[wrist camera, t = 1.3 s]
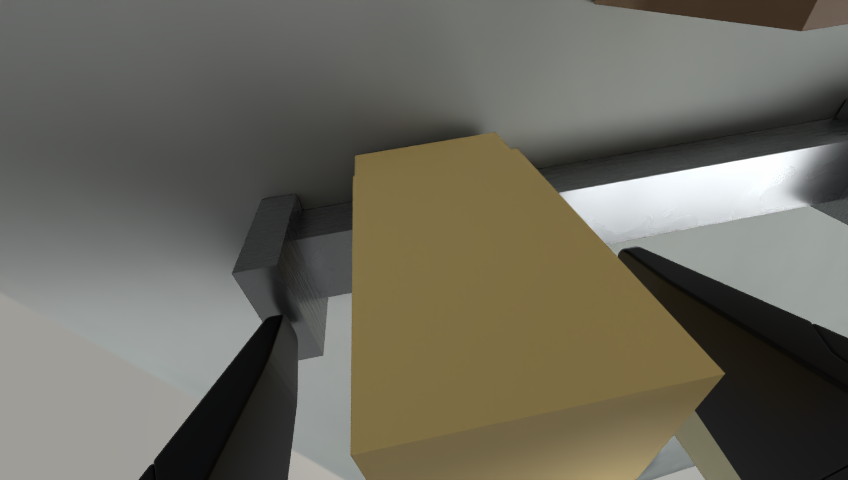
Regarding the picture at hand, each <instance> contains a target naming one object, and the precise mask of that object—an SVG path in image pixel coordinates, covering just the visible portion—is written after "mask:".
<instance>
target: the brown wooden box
mask: <svg viewBox="0 0 848 480" xmlns="http://www.w3.org/2000/svg"><path fill="white" fill-rule="evenodd" d="M594 4H599V5H607V6H614V7H622V8H629V9H637V10H645V11H652V12H660V13H667V14H675V15H683V16H690V17H698V18H705V19H713V20H721V21H728V22H736V23H743V24H751V25H759V26H766V27H774V28H781V29H789V30H797V31H806V30H812V29H819V28H825V27H831V26H838V25H844V24H848V0H594Z"/></svg>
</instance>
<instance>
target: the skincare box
mask: <svg viewBox="0 0 848 480" xmlns="http://www.w3.org/2000/svg"><path fill="white" fill-rule="evenodd" d="M674 435H675V436H676V438H677V439H678V441H679V442H680V444H681V445H682V447H683V448H684V449H685V451H686V452H687V454H688V455H689V457H690V458H691V460H692V461H693V463H694V464H695V465H696V467H697V468H698V470H699V471H700V473H701V474H702V476H703V477H704V478H705V480H741V479H740V478H739V476H738V475H737V473H736V472H735V470H734V469H733V467H732V466H731V464H730V463H729V461H728V460H727V458H726V457H725V455H724V454H723V452H722V451H721V449H720V448H719V446H718V445H717V443H716V442H715V440H714V439H713V437H712V436H711V434H710V433H709V431H708V430H707V428H706V427H705V425H704V424H703V422H702V421H701V419H700V418H699V416H698V415H697V413H696V412H695V410H694V411H693V413H692V414H691V415H690V416H689V417H688V419H687V420H686V421H685V422H684V423H683V424H682V426H681V427H680V428H679V429H678V430H677V432H676V433H675V434H674Z"/></svg>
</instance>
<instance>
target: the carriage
mask: <svg viewBox="0 0 848 480" xmlns="http://www.w3.org/2000/svg"><path fill="white" fill-rule="evenodd" d="M724 374H725V373H724V372H723V371H722V370H721V369H720V367H719V366H718V365H717V364H716V363H715V362H714V361H713V360H712V359H711V358H710V357H709V356H708V354H707V353H706V352H705V351H704V350H703V349H702V348H701V347H700V346H699V345H698V344H697V343H696V341H695V340H694V339H693V338H692V337H691V336H690V335H689V334H688V333H687V332H686V331H685V330H684V328H683V327H682V326H681V325H680V324H679V323H678V322H677V321H676V320H675V319H674V318H673V317H672V315H671V314H670V313H669V312H668V311H667V310H666V309H665V308H664V307H663V306H662V305H661V304H660V302H659V301H658V300H657V299H656V298H655V297H654V296H653V295H652V294H651V293H650V292H649V291H648V289H647V288H646V287H645V286H644V285H643V284H642V283H641V282H640V281H639V280H638V279H637V278H636V276H635V275H634V274H633V273H632V272H631V271H630V270H629V269H628V268H627V267H626V266H625V265H624V263H623V262H622V261H621V260H620V259H619V258H618V257H617V256H616V255H615V254H614V253H613V252H612V250H611V249H610V248H609V247H608V246H607V245H606V244H605V243H604V242H603V241H602V240H601V239H600V237H599V236H598V235H597V234H596V233H595V232H594V231H593V230H592V229H591V228H590V227H589V226H588V224H587V223H586V222H585V221H584V220H583V219H582V218H581V217H580V216H579V215H578V214H577V213H576V211H575V210H574V209H573V208H572V207H571V206H570V205H569V204H568V203H567V202H566V201H565V200H564V198H563V197H562V196H561V195H560V194H559V193H558V192H557V191H556V190H555V189H554V188H553V187H552V185H551V184H550V183H549V182H548V181H547V180H546V179H545V178H544V177H543V176H542V175H541V174H540V172H539V171H538V170H537V169H536V168H535V167H534V166H533V165H532V164H531V163H530V162H529V161H528V159H527V158H526V157H525V156H524V155H523V154H522V153H521V152H520V151H519V150H518V149H517V148H514V149H510V148H509V147H508V146H507V144H506V143H505V142H504V141H503V140H502V139H501V138H500V136H499V135H498V134H497V133H496V132H493V133H487V134H481V135H475V136H469V137H463V138H457V139H451V140H446V141H440V142H434V143H428V144H422V145H416V146H410V147H404V148H398V149H392V150H386V151H380V152H374V153H368V154H362V155H356V156H355V176H353V238H352V353H351V457H352V458H353V460H354V461H355V463H356V465H357V466H358V468H359V469H360V471H361V472H362V474H363V476H364V477H365V479H366V480H636V479H637V478H638V477H639V476H640V474H641V473H642V472H643V471H644V470H645V469H646V467H647V466H648V465H649V464H650V463H651V461H652V460H653V459H654V458H655V457H656V455H657V454H658V453H659V452H660V451H661V449H662V448H663V447H664V446H665V445H666V444H667V442H668V441H669V440H670V439H671V438H672V436H673V435H674V434H675V433H676V432H677V430H678V429H679V428H680V427H681V426H682V424H683V423H684V422H685V421H686V420H687V419H688V417H689V416H690V415H691V414H692V413H693V411H694V410H695V409H696V408H697V407H698V405H699V404H700V403H701V402H702V401H703V399H704V398H705V397H706V396H707V395H708V394H709V392H710V391H711V390H712V389H713V388H714V386H715V385H716V384H717V383H718V382H719V380H720V379H721V378H722V377H723V376H724Z"/></svg>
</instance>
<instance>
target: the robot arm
mask: <svg viewBox="0 0 848 480" xmlns="http://www.w3.org/2000/svg"><path fill="white" fill-rule="evenodd" d="M618 258H619V259H620V260H621V261H622V262H623V263H624V265H625V266H626V267H627V268H628V269H629V270H630V271H631V272H632V273H633V274H634V275H635V276H636V278H637V279H638V280H639V281H640V282H641V283H642V284H643V285H644V286H645V287H646V288H647V289H648V291H649V292H650V293H651V294H652V295H653V296H654V297H655V298H656V299H657V300H658V301H659V302H660V304H661V305H662V306H663V307H664V308H665V309H666V310H667V311H668V312H669V313H670V314H671V315H672V317H673V318H674V319H675V320H676V321H677V322H678V323H679V324H680V325H681V326H682V327H683V328H684V330H685V331H686V332H687V333H688V334H689V335H690V336H691V337H692V338H693V339H694V340H695V341H696V343H697V344H698V345H699V346H700V347H701V348H702V349H703V350H704V351H705V352H706V353H707V354H708V356H709V357H710V358H711V359H712V360H713V361H714V362H715V363H716V364H717V365H718V366H719V367H720V369H721V370H722V371H723V372H724V373H725V374H724V376H723V377H722V378H721V379H720V380H719V382H718V383H717V384H716V385H715V386H714V388H713V389H712V390H711V391H710V392H709V394H708V395H707V396H706V397H705V398H704V399H703V401H702V402H701V403H700V404H699V405H698V407H697V408H696V409H695V412H696V413H697V415H698V416H699V418H700V419H701V421H702V422H703V424H704V425H705V427H706V428H707V430H708V431H709V433H710V434H711V436H712V437H713V439H714V440H715V442H716V443H717V445H718V446H719V448H720V449H721V451H722V452H723V454H724V455H725V457H726V458H727V460H728V461H729V463H730V464H731V466H732V467H733V469H734V470H735V472H736V473H737V475H738V476H739V478H740V479H741V480H848V338H847V337H844V336H842V335H840V334H837V333H835V332H833V331H831V330H828V329H826V328H824V327H821V326H819V325H817V324H812V323H811V322H810V321H808V320H805V319H803V318H801V317H798V316H796V315H794V314H792V313H789V312H787V311H785V310H782V309H780V308H778V307H776V306H773V305H771V304H769V303H766V302H764V301H762V300H760V299H757V298H755V297H753V296H750V295H748V294H746V293H744V292H741V291H739V290H737V289H734V288H732V287H730V286H728V285H725V284H723V283H721V282H718V281H716V280H714V279H712V278H709V277H707V276H705V275H702V274H700V273H698V272H696V271H693V270H691V269H689V268H686V267H684V266H682V265H680V264H677V263H675V262H673V261H670V260H668V259H666V258H664V257H661V256H659V255H657V254H655V253H652V252H650V251H648V250H645V249H643V248H641V247H630V248H624V249H622V250H621V251H620V252H619V254H618ZM297 392H298V338H297V334H296V332H295V330H294V329H293V327H292V325H291V323H290V321H289V320H288V318H287V316H286V315H284V314H280V315H275V316H270V317H268V318H266V319H265V320H264V322H263V323H262V324H261V325H260V327H259V328H258V329H257V330H256V332H255V333H254V334H253V336H252V337H251V338H250V339H249V341H248V342H247V343H246V344H245V346H244V347H243V348H242V349H241V351H240V352H239V353H238V355H237V356H236V357H235V358H234V360H233V361H232V362H231V363H230V365H229V366H228V367H227V368H226V370H225V371H224V372H223V374H222V375H221V376H220V377H219V379H218V380H217V381H216V382H215V384H214V385H213V386H212V387H211V389H210V390H209V391H208V393H207V394H206V395H205V396H204V398H203V399H202V400H201V401H200V403H199V404H198V405H197V407H196V408H195V409H194V410H193V412H192V413H191V414H190V415H189V417H188V418H187V419H186V420H185V422H184V423H183V424H182V426H181V427H180V428H179V429H178V431H177V432H176V433H175V434H174V436H173V437H172V438H171V439H170V441H169V442H168V443H167V445H166V446H165V447H164V448H163V450H162V451H161V452H160V453H159V455H158V456H157V457H156V458H155V460H154V464H151V465H150V466H149V467H148V468H147V470H146V471H145V472H144V474H143V475H142V476H141V477H140V479H139V480H288V472H289V464H290V456H291V449H292V441H293V432H294V424H295V416H296V408H297Z"/></svg>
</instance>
